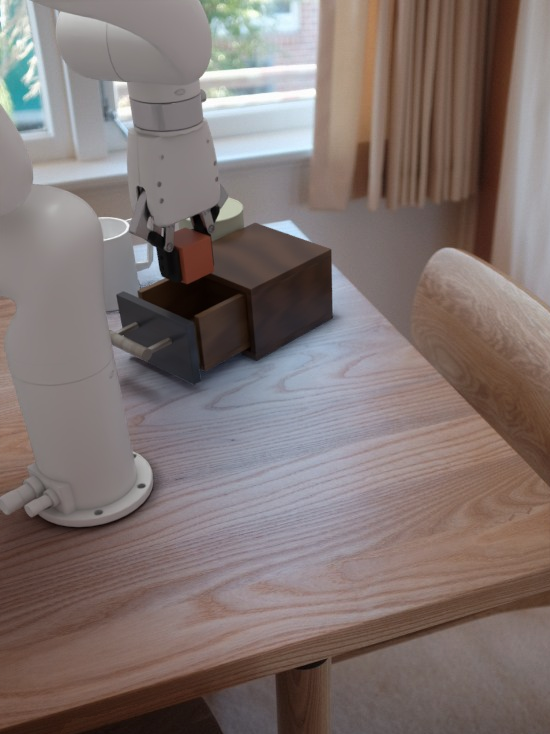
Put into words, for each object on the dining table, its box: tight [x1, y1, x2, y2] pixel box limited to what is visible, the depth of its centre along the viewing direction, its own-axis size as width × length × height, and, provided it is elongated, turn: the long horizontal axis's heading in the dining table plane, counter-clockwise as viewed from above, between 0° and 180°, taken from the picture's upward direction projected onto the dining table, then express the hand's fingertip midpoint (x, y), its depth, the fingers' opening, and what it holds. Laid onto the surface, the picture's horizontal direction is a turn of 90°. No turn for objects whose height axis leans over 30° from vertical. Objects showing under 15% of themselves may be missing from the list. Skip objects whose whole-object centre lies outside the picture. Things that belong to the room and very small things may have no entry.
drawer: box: [109, 277, 251, 386], centre depth 112 cm, size 18×13×8 cm
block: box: [174, 227, 214, 284], centre depth 107 cm, size 4×4×4 cm
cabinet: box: [204, 222, 334, 362], centre depth 119 cm, size 15×14×10 cm
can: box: [177, 196, 245, 241], centre depth 127 cm, size 9×9×12 cm
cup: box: [98, 216, 154, 312], centre depth 126 cm, size 8×12×10 cm
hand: (187, 270), depth 108 cm, fingers closed on block, 4 cm apart
